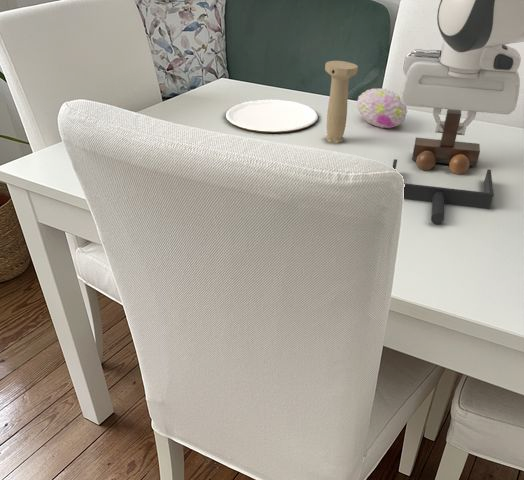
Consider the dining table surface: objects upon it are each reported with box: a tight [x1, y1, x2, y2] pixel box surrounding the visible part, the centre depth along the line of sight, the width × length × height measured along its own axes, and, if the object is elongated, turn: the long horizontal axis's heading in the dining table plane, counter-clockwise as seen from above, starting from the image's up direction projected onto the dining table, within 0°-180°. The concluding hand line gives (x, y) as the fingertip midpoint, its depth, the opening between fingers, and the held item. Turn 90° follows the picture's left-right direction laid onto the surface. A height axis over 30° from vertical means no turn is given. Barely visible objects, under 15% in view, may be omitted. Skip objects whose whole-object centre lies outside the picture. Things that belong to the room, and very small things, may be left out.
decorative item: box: [356, 87, 408, 129], centre depth 125 cm, size 9×11×10 cm
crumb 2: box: [448, 154, 470, 175], centre depth 106 cm, size 4×4×4 cm
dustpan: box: [392, 158, 495, 225], centre depth 98 cm, size 17×19×3 cm
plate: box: [225, 99, 319, 134], centre depth 129 cm, size 21×21×1 cm
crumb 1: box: [415, 151, 436, 171], centre depth 108 cm, size 4×4×4 cm
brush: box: [411, 109, 481, 168], centre depth 108 cm, size 12×4×9 cm, turn 75°
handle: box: [324, 60, 359, 144], centre depth 114 cm, size 5×6×15 cm
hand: (449, 133), depth 107 cm, fingers closed on brush, 2 cm apart
